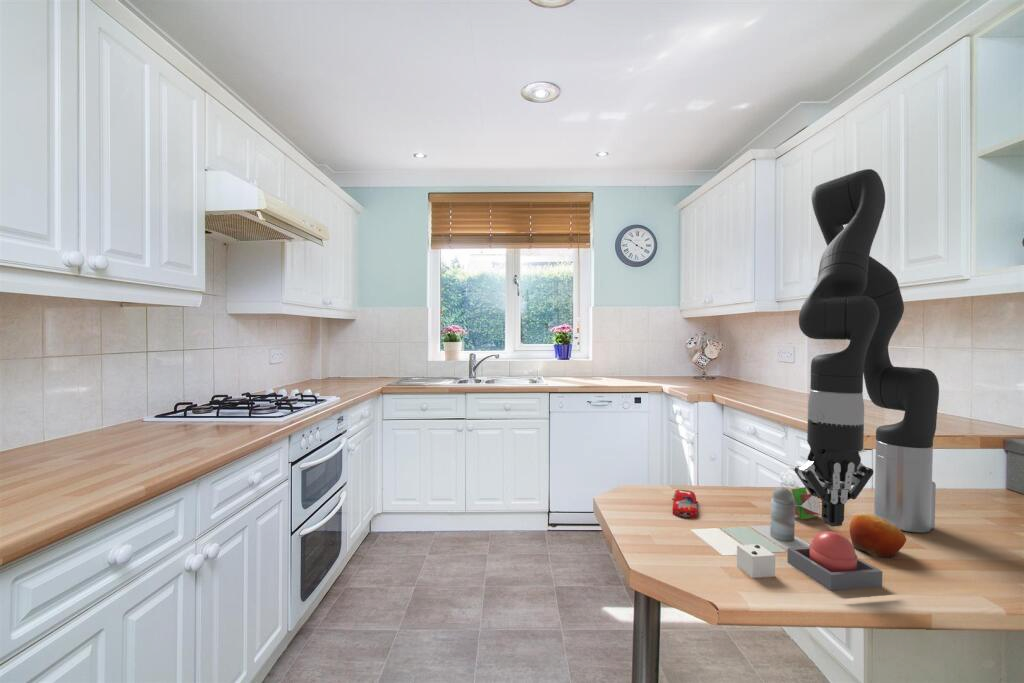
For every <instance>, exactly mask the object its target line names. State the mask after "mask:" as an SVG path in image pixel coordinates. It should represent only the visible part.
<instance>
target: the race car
mask: <svg viewBox="0 0 1024 683" xmlns="http://www.w3.org/2000/svg"><path fill="white" fill-rule="evenodd" d="M671 500H672V515H674V516H676V517H679V518H683V519H696V518H698V504H699V502H698V500H697V495H696V494H695V492H694V491H691V490H686V489H676V490H675V491H674V493H673V496H672V498H671Z"/></svg>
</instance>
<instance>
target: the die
mask: <svg viewBox="0 0 1024 683" xmlns="http://www.w3.org/2000/svg"><path fill="white" fill-rule="evenodd" d="M736 566H737V567H738V568H739V569H740V570H742V571H743V572H744V573H746V574H747V575H748V576H750V577H751V578H752V579H756V578H757V579H758V578H770V577H771V578H772V577H776V554H775V553H771V552H770V551H768V550H767V549H765V548H764V547H762V546H761V545H759V544H751V545H743V544H741V545H737V555H736Z"/></svg>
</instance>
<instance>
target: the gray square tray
mask: <svg viewBox="0 0 1024 683" xmlns="http://www.w3.org/2000/svg"><path fill="white" fill-rule="evenodd" d="M809 554H810V547H797V548H788V551H787V556H786V557H787V560H786V562H787V564H789V565H791V566H792V567H794V569H795V568H796V569H797V570H798V571H799V572H802V573H803V574H805V576H807V577H809V578H810V579H812V580H814V581H815V582H817V583H818V584H820V586H822V587H824V588H825V589H827V590H828V591H830V592H832V591H833V592H836V591H846V590H860V589H861V590H862V589H874V588H882V587H883V570H881V569H879V568H877V567H875V566H873V565H872V564H870V563H868V562H867V561H864V560H862V559H860V558H859V557H857V571H844V572H830V571H828V570H827V569H825V568H823V567H822V566H820V565H819V564H817V563H815V562H814V561H812V560H810V559H809Z"/></svg>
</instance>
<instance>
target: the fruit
mask: <svg viewBox="0 0 1024 683" xmlns="http://www.w3.org/2000/svg"><path fill="white" fill-rule="evenodd" d="M849 535H850V539H851V544H852V546H853V547H854V550H859V551H862V552H865V553H867V554H869V555H870V556H871V557H873V558H891V557H894V556H895V555H896V554H897V553H899V551H900V550H901V549H902V548H903V547H904V546H905V543H906V542H907V538H906V534H905V533H904V531H903V530H900V529H899V528H898V527H897V526H896V525H894V524H892V523H890V522H888V521H886V520H884V519H882V518H879V517H877V516H875V515H874V514H871V513H866V514H856V515H854V516H853V517H852V519H851V520H850V524H849Z"/></svg>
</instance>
